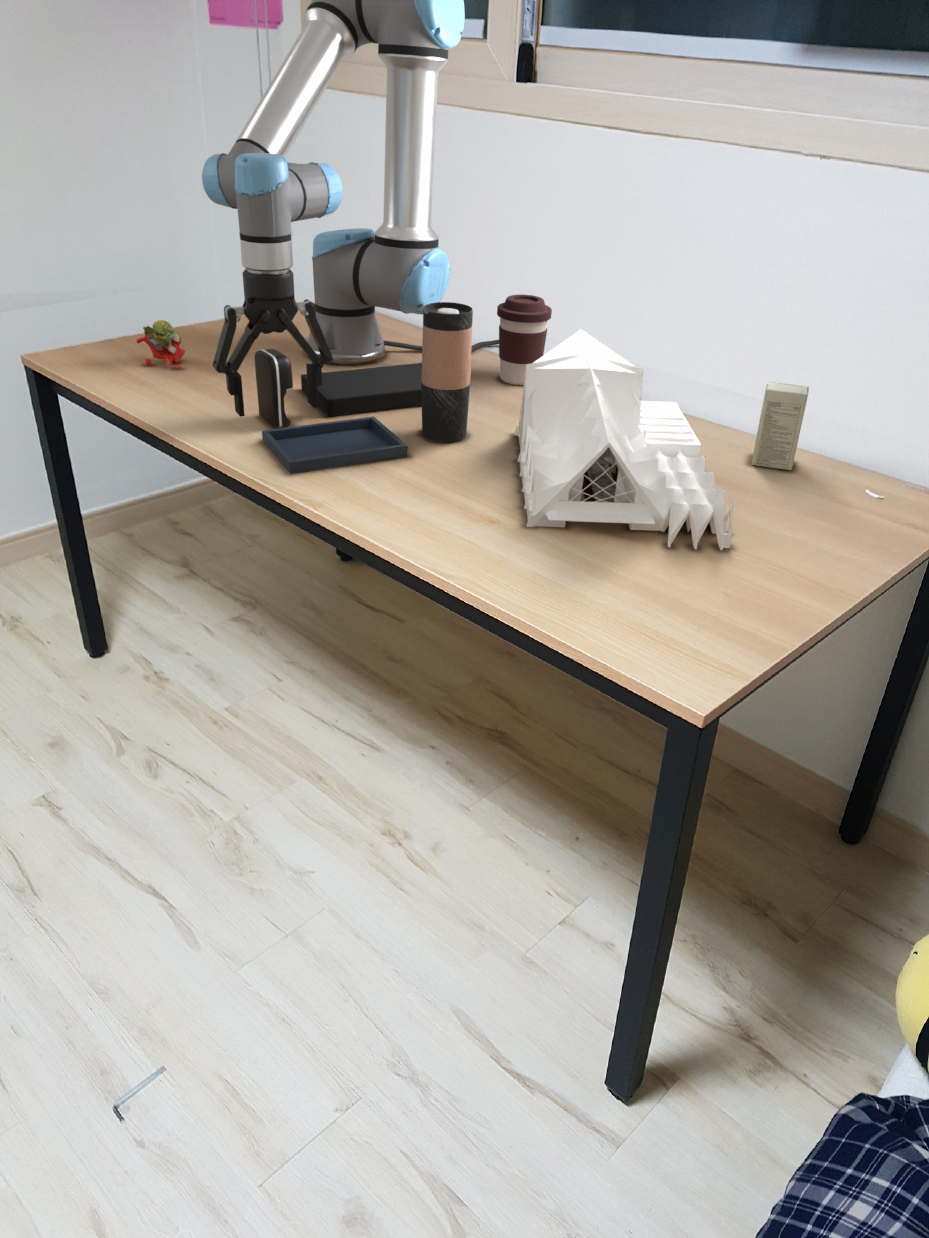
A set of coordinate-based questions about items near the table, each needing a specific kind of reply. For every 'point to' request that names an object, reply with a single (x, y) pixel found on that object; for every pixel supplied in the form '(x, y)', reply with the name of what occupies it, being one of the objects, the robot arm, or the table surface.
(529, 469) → the white faceted model
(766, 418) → the cosmetic box
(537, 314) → the coffee cup
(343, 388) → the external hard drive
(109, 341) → the table surface
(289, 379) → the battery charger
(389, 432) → the tray
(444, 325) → the travel mug
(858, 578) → the table surface
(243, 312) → the robot arm
